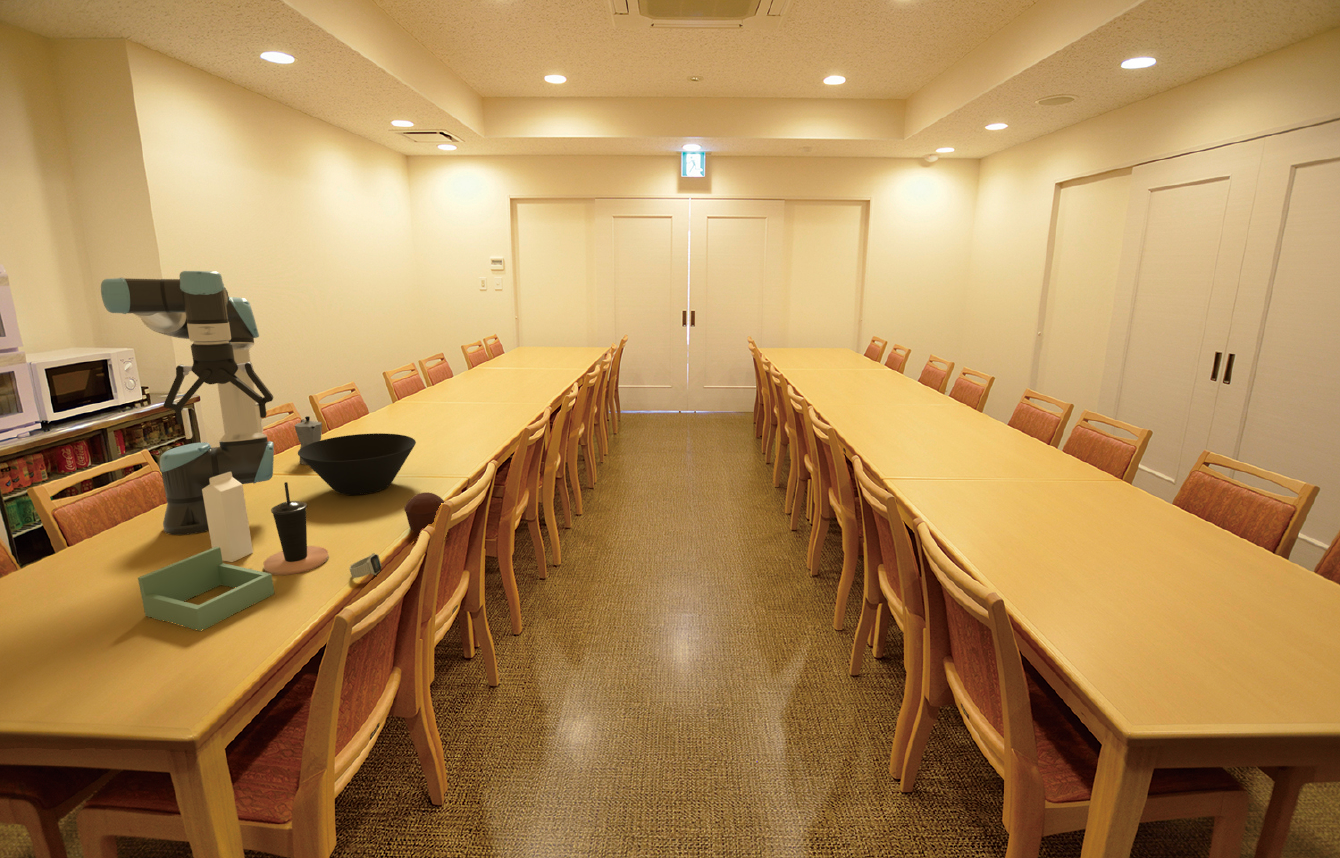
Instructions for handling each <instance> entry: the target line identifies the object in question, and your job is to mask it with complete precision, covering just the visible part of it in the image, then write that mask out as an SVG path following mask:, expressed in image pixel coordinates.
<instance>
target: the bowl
mask: <svg viewBox="0 0 1340 858" xmlns="http://www.w3.org/2000/svg"><path fill="white" fill-rule="evenodd" d="M416 443H417V442H416V440H415V438H413V437H411V436H407V435H404V434H398V433H379V432H378V433H377V432H376V433H375V432H374V433H359V434H349V435H348V434H347V435H343V436H342V435H341V436H336V437H330V438H325V439H321V440H320V441H317V442H314V443H311V444H308V445H306V446H304V447H302V448H301V449H299V450H298V451H297V455H298V456H299V458H300V457H301V458H302V459H303V460H304V461H305V462H306V463H307V464H308V466H309V467H310V468H311V469H312V470H313V472H315V473H316V474H317V475H318V476H319V477H320V478H321V479H322V480H323V481H324V482H325V483H326V485H328V486H329V487H330V489H332V490H333V491H335V493H338V494H340V495H341V494H342V495H346V496H347V495H348V496H358V495H359V496H360V495H369V494H373V493H377V492H379V491H382V490H385V489H386V488H388V487H389V486H390V485H391V484H392V483H393V481H394V480H395V478H396V476H397V474H398V473H399V472H400V470H401V468H402V467H403V466H404V463H405V462H406V460H407V459H408V457H409V455H410V454H411V452H412V451H413V449H414V447H415V446H416Z"/></svg>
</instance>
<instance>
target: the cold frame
mask: <svg viewBox="0 0 1340 858" xmlns="http://www.w3.org/2000/svg"><path fill="white" fill-rule="evenodd" d="M137 582H138V586H139V591H140V595H141V600H142V604H143V605H142V606H143V610H144V615H145V617H146V616H148V617H147V618H150V617H152V618H151V619H153V618H155V619H154V620H157V619H158V621H161V620H164V621H169V622H173V623H176V624H179V625H183V626H185V627H184V628H187V627H189V628H188V629H190V628H191V630H194V629H197V630H196V631H198V630H200V631H199V632H202V631H203V630H202V629H204V630H206V629H208V628H210V627H212V626H214V625H216V624H218V623H220V622H222V621H224V620H226V619H228V618H230V617H232V616H233V614H234V613H236V612H238V613H240V612H242V611H244V610H245V608H246V609H247V607H248V608H249V606H250V607H251V605H252V604H254V603H255V604H257V603H259V602H261V601H263V600H265V599H267V598H269V597H271V596H273V595H275V589H274V583H273V574H270V573H267V572H266V571H259V570H256V569H251V568H246V567H242V566H238V565H233V564H230V563H229V564H228V563H224V561H222V555H221V549H220V547H214V548H212V547H211V548H209V549H206V550H204V551H202V552H199V553H196V554H193V555H192V556H188V557H186V558H183V559H182V560H178V561H176V562H174V563H171V564H168V565H166V566H164V567H161V568H159V569H155V570H153V571H150V572H149V573H145V574H143V575H141V576H139V577H137ZM219 585H220V586H225V587H228V586H229V588H231V589H230V590H227V591H225V592H223V593H222V594H220V595H218V596H215V597H213V598H211V599H209V600H206V601H204V602H203V603H200V604H195V603H192V602H187V601H188V600H187V599H189V598H191V599H193V598H192V597H194V596H196V595H198V596H200V595H202V594H204V592H205V593H206V591H207V592H209V591H211V590H213V589H215V588H217V587H219ZM214 587H215V588H214ZM232 587H236V588H232ZM212 588H213V589H212ZM210 589H211V590H210ZM208 590H209V591H208ZM201 593H202V594H201ZM199 594H200V595H199ZM270 595H271V596H270ZM196 597H197V596H196ZM194 598H195V597H194ZM185 600H187V601H185ZM189 600H190V599H189ZM184 601H185V602H184ZM255 604H254V605H255ZM252 606H253V605H252ZM243 609H244V610H243ZM241 610H242V611H241ZM236 614H237V613H236ZM231 615H232V616H231ZM234 615H235V614H234ZM227 617H228V618H227ZM221 620H222V621H221ZM164 621H163V622H164ZM219 621H220V622H219ZM215 623H216V624H215ZM179 625H178V626H179ZM183 626H182V627H183ZM201 630H202V631H201Z"/></svg>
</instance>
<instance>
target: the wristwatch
mask: <svg viewBox="0 0 1340 858" xmlns="http://www.w3.org/2000/svg"><path fill="white" fill-rule="evenodd" d="M348 568H349V572H350V576H351V578H353V579H357V578H361V577H365V576H368V575H370V574H372V575H373V576H376V575H377V574H378V573H380V572H381V569H382V563H381V560H380V556H379V554H377V553H374V552H373V553H371V554H370V555H368V556H367V557H364V558H362V559H360V560H358V561H356V562H354V563H352V564H350V567H348Z"/></svg>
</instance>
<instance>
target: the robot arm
mask: <svg viewBox="0 0 1340 858" xmlns="http://www.w3.org/2000/svg"><path fill="white" fill-rule="evenodd" d="M178 277H179V278H161V279H160V278H157V279H156V278H127V277H126V278H125V277H117V278H105V279H103V280H102V281H101V283H100V293H101V299H102V304H103V306H104V308H105V309H106V311H107V312H108V313H110V314H123V315H127V314H133V315H135V316H137V317H138V318H140V320H141V321H142V323H143V324H144V325H145V326H146V327H147V328H149V330H151V331H153V332H156V333H159V334H161V335H163V336H168V337H173V338H178V339H184V340H185V339H186V340H189V341H190V342H192V343H191V345H190V349H191V356H192V365H184V364H182V363H180V364H179V365H177V366H176V367H175V374H176V375H175V377H174V380H173V382H172V385H171V387H170V390H169V392H168V393H167V396H166V399H165V401H164V402H163V408H165V409H171V410H173V411H174V413H175V416H176V423H177V425H183V427H184V435H185V439H186V440H189V439H192V438H193V430H192V426H191V425H192V424H191V420H190V419H191V418H190V415H189V408H188V407H185V405H186V404H187V403H188V402H189V401H190V399H191V398H192V397H193V395H194V394H195V393H196V392H197V391H198V390H199V388H200V387H201V386H202V385H203V384H204V383H205V384H208V385H216V384H217V389H218V396H219V397H218V398H219V404H220V411H221V418H222V419H221V420H222V425H223V431H224V432H223V436H222V437H221V438H220V439H219V440H218V441H219V446H216V447H212V445H211V444H210V443H209V442H193V443H188V444H184V445H180V446H177V447H174V448H170V449H168V450H166V451H164V452H163V453H162V454H161V455H160V456H159V464H160V465H159V466H160V469H159V471H160V472H161V473H160V474H161V478H162V482H163V487H164V488H163V489H164V493H165V498H166V508H165V513H164V519H163V522H162V526H163V532H164V533H165V534H168V535H173V536H182V535H183V536H184V535H193V534H201V533H204V532H209V528H208V522H207V516H206V510H205V504H204V499H203V493H202V489H203V488H205V487H206V486H208V485H209V484H210V481H209V479H210V478H212V477H215V476H218V475H221V474H224V473H227V472H232V477H233V478H235V479H236V480H237V481H239V482H240V483H241V484H242V485H246V484H247V485H248V484H253V485H254V484H256V483H263V482H266V481H270V480H271V479H272V477H273V476H274V459H275V458H274V457H275V454H274V452H275V448H274V447H275V442H273V441H271V440H268V436H267V434H265V433H263V432H264V425H263V419H264V418H265V419H266V417H267V409H266V404H267V403H269V402H272V401H273V400H274V395H273V394H272V393H271V392H270V390H269V389H268V388H267V386H266V385H265V384H264V382H263V381H262V380H261V379H260V377H259V376H258V374H257V373H256V372H255V370H254V367H253V363H252V361H251V356H250V349H251V348H252V347H253V346H254V345H255V339H257V338H259V337H260V333H259V329H258V325H257V323H256V319H255V316H254V313H253V310H252V305H251V303H250V302H249V300H248V299H246V298H244V297H235V296H233V297H232V296H229V292H228V290H227V288H226V287H225V284H224V281H223V277H222V274H221V273H220V272H218V271H214V270H213V271H212V270H210V271H209V270H183V271H180V272H179V276H178ZM190 372H192V373H193V374H194V375H196V376H197V377H198V378H197V379H196V381H194V383H193V384H192V386H191V387H190V388H188V390H187V391H186V392H185V394H184V395H183V396H182V397H181V398H180V399H179V401H178V402H175V400H176V397H177V395H178V393H179V390H180V389H181V386H182V385H183V381H184V379H185V377H186V376H188V375H189V374H190ZM255 386H256V388H257V389H258V390H259V392H260V393H261V394H262V395H263V396H261V395H260V394H259V393H257V391H256V390H255Z"/></svg>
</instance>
